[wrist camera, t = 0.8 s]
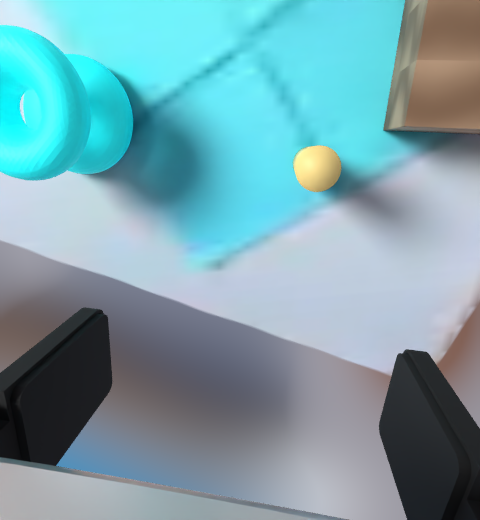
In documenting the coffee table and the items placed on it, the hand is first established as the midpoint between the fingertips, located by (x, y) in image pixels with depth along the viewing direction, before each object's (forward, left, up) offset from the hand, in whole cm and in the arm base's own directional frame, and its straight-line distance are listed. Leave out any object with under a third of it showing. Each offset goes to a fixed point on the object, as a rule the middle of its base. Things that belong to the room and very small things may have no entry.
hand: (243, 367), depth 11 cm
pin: (-6, +3, -23) cm, 24 cm away
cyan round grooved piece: (-9, -18, -23) cm, 31 cm away
